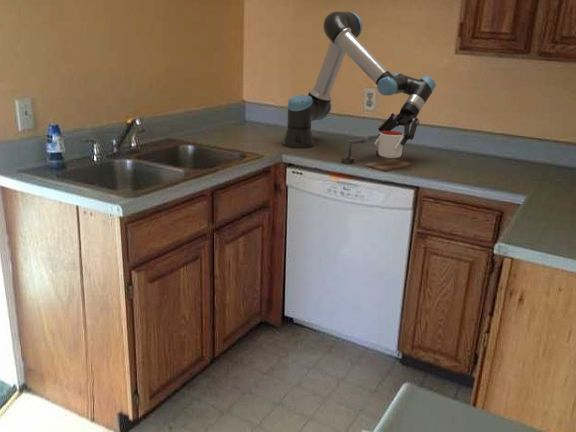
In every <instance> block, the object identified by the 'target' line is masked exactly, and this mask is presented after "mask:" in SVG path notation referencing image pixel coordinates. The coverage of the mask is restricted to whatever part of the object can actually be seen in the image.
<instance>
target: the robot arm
mask: <svg viewBox="0 0 576 432" xmlns="http://www.w3.org/2000/svg"><path fill="white" fill-rule="evenodd" d="M323 31H324V33H325V35H326V36H327V38H328V40H329V45H328V47H327V50H326V53H325V56H324V58H323V62H322V64H321V67H320V70H319V72H318V75H317V78H316V80H315V84H314V86H313V88H311V89H309V91H308V94H300V95H293V96H291V97H290V98H289V99H288V104H287V126H286V132H285V136H284V137H283V141H282V144H283V146H285V147H288V148H295V149H306V148H307V149H308V148H312V147H313V146H314V145H315V140H314V138H313V137H314V136H313V132H312V122H314V121H320V120H323V119H325V118H327V117H328V116H329V115H330V113H331V111H332V103H331V102H332V96H331V92H332V90H333V86H334V84H335V81H336V78H337V77H338V74H339V72H340V71H339V70H340V68H341V66H342V63H343V61H344V58H345V55H347V56H348V58H351V60H352V61H353V62H354V63H355V64H356V65H357V66H358V67H359V68H360V69H361V70H362V71H363V72H364V73H365V74H366V75H367V76H368V77H369V78H370V80H372V82H373V83H374V84H375V85H377V90H378V91H377V92H378V93H379V94H380V95H382V96H388V97H389V96H393V95H397V94H404V95H408V97H407V99H406V101H405V102H404V103H403V105H402V106H401V108H400V110H399V113H398V114H395V113H394V112H392V113H391V114H390V116H389V117H388V118H387V119H386V120H385V121H384V122H383V123H382V124H381V125H380V126H379V127H378V129H377V130H378V132H379V134H377V135H378V137H377V138H378V139H375V142H373V143H374V145H375V147H376V148H379V138H380V132H382V131H393V130H394V129H395V128H396V127H399V126H403V127H404V132H403V134H404V136H402V137H401V139H400V140H399V142H398V143H397V145H396V146H395V150H396V152H399V150H400V149H401V147H402V146H403V147H404V146H405V145H406V144H407V141H409V140H413V139H414V137H415V134H416V131H417V128H418V125H419V124H420V119H419V118H418V117H417V116H418V115H419V114H420V112H421V111H422V109H423V107H424V106H425V104H426V102H427V101H428V99H429V98H430V96H431V95H432V93H433V92H434V90H435V88H436V85H437V84H436V82H435V80H434V79H433V78H432V77H430V76H428V75H422V76H421V77H420V79H418V78H414V77H411V76H409V75H405V74H403V73H399V72H393V73H391V72H390V71H389V70H388V69H387V68H386V66H384V65H383V64H382V63H381V62H380V60H379V59H377V57H376V56H375V55H374V54H373V53H372V52H370V50H369V49H368V48H367V47H366V46H365V45H364V44H363V43H362V42H360V40H359V39H358V37H359V36H360V35H361V33H362V31H363V22H362V19H361V17H360V16H359V15H358V14H357V13H354V12H350V11H333V12H331V13H328V15H327V16H326V17H325V18H324V20H323ZM410 125H411V127H410ZM403 147H402V148H403Z"/></svg>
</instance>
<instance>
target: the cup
mask: <svg viewBox="0 0 576 432" xmlns="http://www.w3.org/2000/svg"><path fill="white" fill-rule="evenodd" d="M379 134H380V138H379V147H378V150H377V151H378V153H379V155H380V156H379V157H381V158H386V159H390V158H391V159H398V158H400V157H402V152H403V147H404V146H402V147H401V149H400V150H399V152H396V150H395V146H396V145H397V143H398V142H399V140H400V139H401V137H402V136H404V132H401V131H395V130H391V131H382V132H380V131H379Z"/></svg>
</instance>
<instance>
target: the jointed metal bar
mask: <svg viewBox="0 0 576 432" xmlns="http://www.w3.org/2000/svg"><path fill="white" fill-rule="evenodd" d="M378 135H379V134H376V135H368V136H366V137H364V138H362V139H351V140H346V152H345V157H341V163H342V164H346V165H352V164H355V160H356V159H355V158H354V157H351V154H352V145H357V144H366V143H367V142H370V141H372V140H377V139H378V138H377V137H378ZM375 155H376V156H379V157H381V156H380V155H379V153H378V150H376V151H375Z"/></svg>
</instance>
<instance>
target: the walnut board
mask: <svg viewBox="0 0 576 432" xmlns="http://www.w3.org/2000/svg"><path fill="white" fill-rule="evenodd" d="M411 165H412V163H411V162H406V161H402V160H398V159H396V158H386V159H382V160H381V159H380V160H376V161H373V162H369V163H365V164H364V167H366V166H367V168H371V169H375V170H377V171H378V170H379V171H381V172H389V171H393V170H397V169H401V168H402V169H403V168H405V167H408V166H409V167H410V166H411Z"/></svg>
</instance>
